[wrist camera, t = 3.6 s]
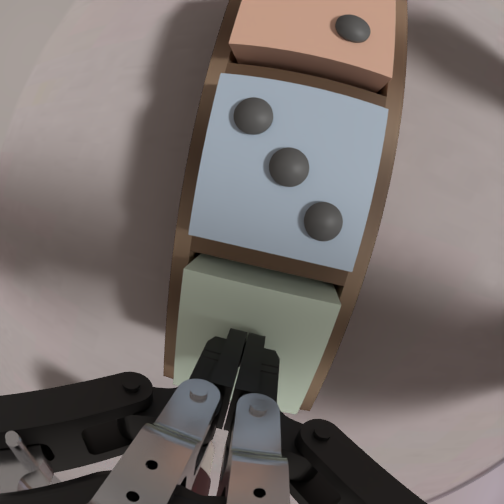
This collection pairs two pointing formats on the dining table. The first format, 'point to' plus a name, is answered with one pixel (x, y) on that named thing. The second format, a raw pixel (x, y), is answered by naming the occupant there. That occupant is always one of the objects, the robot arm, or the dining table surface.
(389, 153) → the dice tray set
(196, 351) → the button one
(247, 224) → the button three
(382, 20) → the button two
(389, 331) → the dining table surface
